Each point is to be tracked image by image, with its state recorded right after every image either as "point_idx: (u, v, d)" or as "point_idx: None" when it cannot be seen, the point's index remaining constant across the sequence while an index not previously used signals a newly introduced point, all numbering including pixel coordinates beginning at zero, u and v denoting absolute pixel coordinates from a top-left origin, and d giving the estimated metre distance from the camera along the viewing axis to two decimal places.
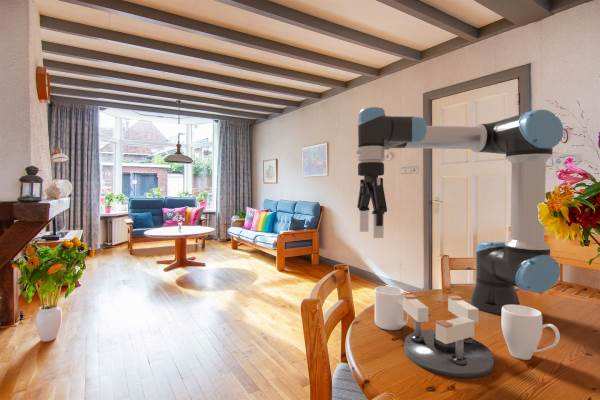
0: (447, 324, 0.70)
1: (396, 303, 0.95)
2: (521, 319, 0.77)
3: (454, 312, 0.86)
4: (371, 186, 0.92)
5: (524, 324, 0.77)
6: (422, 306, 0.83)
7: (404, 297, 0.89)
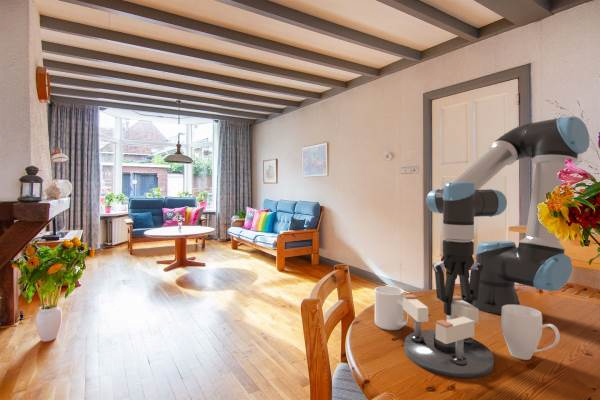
0: (447, 324, 0.70)
1: (396, 303, 0.95)
2: (521, 319, 0.77)
3: None
4: None
5: (523, 324, 0.77)
6: (422, 306, 0.83)
7: (404, 297, 0.89)
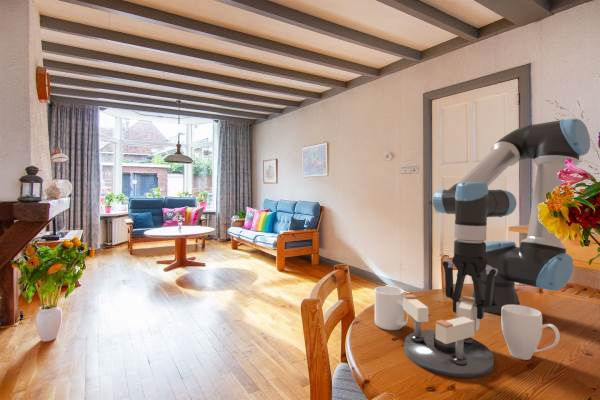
0: (447, 324, 0.70)
1: (396, 303, 0.95)
2: (521, 319, 0.77)
3: None
4: None
5: (524, 324, 0.77)
6: (422, 306, 0.83)
7: (404, 297, 0.89)
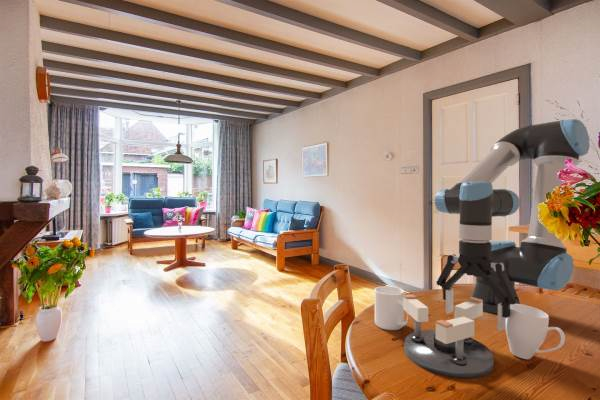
0: (447, 324, 0.70)
1: (396, 303, 0.95)
2: (528, 319, 0.76)
3: None
4: None
5: (530, 324, 0.76)
6: (422, 306, 0.83)
7: (404, 297, 0.89)
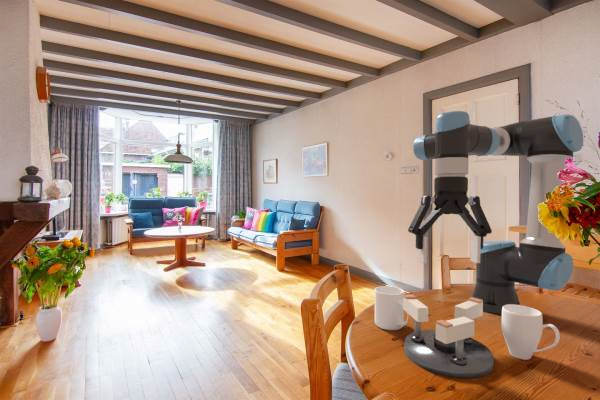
0: (447, 324, 0.70)
1: (396, 303, 0.95)
2: (521, 319, 0.77)
3: None
4: None
5: (524, 323, 0.77)
6: (422, 306, 0.83)
7: (404, 297, 0.89)
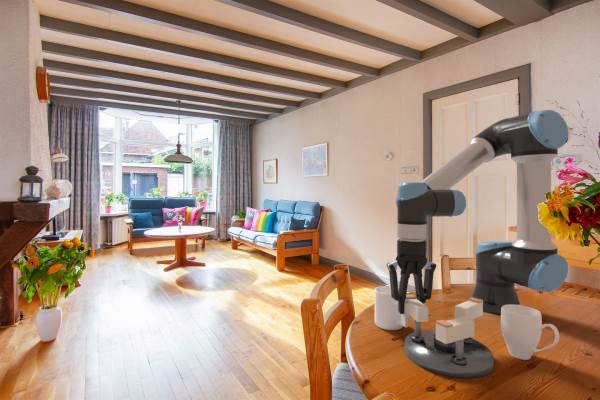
0: (447, 324, 0.70)
1: (396, 303, 0.95)
2: (520, 319, 0.77)
3: None
4: None
5: (523, 323, 0.77)
6: (422, 306, 0.83)
7: None
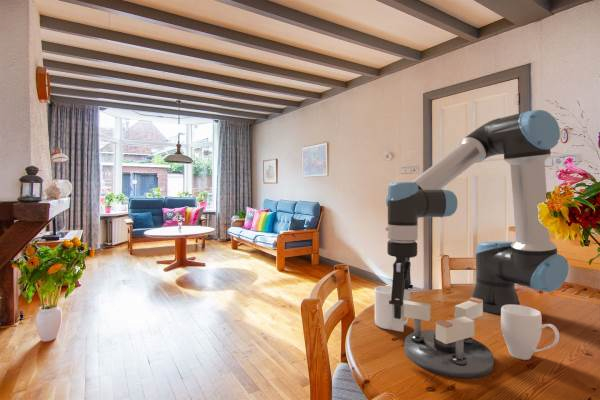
0: (447, 324, 0.70)
1: None
2: (520, 319, 0.77)
3: None
4: None
5: (523, 323, 0.77)
6: (425, 304, 0.84)
7: None
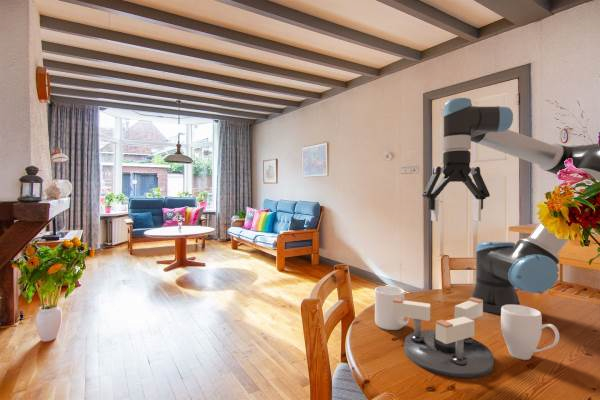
0: (447, 324, 0.70)
1: None
2: (520, 319, 0.77)
3: None
4: None
5: (523, 324, 0.77)
6: (425, 304, 0.84)
7: (396, 302, 0.85)
